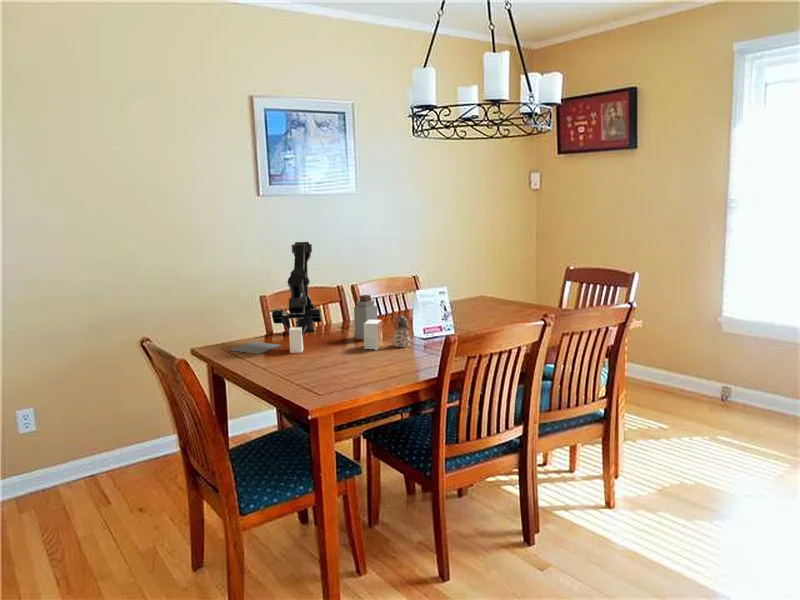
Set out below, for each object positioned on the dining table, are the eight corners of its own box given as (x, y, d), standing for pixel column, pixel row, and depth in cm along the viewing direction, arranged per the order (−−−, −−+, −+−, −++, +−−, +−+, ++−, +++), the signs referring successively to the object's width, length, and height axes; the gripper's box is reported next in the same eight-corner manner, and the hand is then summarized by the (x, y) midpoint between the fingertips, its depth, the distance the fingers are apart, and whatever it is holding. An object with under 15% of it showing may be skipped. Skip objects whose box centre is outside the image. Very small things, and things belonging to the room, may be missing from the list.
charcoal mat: (253, 342, 259) (253, 341, 259) (281, 346, 253) (281, 344, 253) (229, 350, 247) (229, 349, 247) (258, 354, 241) (258, 353, 241)
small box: (378, 350, 242) (377, 323, 241) (364, 350, 243) (363, 323, 242) (383, 345, 250) (382, 319, 248) (369, 345, 251) (368, 319, 249)
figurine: (412, 347, 246) (412, 317, 244) (394, 348, 245) (394, 318, 243) (408, 343, 253) (408, 313, 251) (391, 344, 252) (390, 314, 250)
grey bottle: (378, 337, 263) (376, 295, 260) (367, 341, 258) (365, 297, 255) (366, 335, 267) (364, 293, 264) (355, 338, 262) (353, 296, 259)
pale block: (291, 349, 246) (290, 327, 245) (303, 349, 247) (302, 327, 245) (290, 352, 242) (289, 329, 240) (302, 352, 242) (300, 329, 241)
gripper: (271, 290, 245) (268, 323, 236) (319, 288, 246) (318, 322, 237) (275, 306, 254) (272, 339, 245) (321, 304, 255) (321, 337, 246)
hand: (296, 334), depth 243 cm, fingers closed on pale block, 4 cm apart
